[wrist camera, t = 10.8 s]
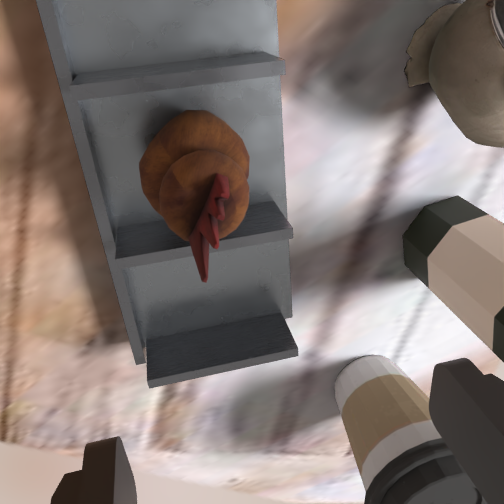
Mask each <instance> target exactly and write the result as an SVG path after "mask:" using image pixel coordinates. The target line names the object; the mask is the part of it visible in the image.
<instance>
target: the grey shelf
mask: <svg viewBox="0 0 504 504" xmlns="http://www.w3.org/2000/svg"><path fill="white" fill-rule="evenodd" d="M36 3H37V6H38V10H39V14H40V17H41V21H42V24H43V28H44V32H45V35H46V39H47V43H48V46H49V50H50V54H51V57H52V61H53V64H54V68H55V72H56V75H57V79H58V83H59V86H60V90H61V94H62V97H63V101H64V104H65V108H66V112H67V115H68V119H69V123H70V126H71V130H72V134H73V137H74V141H75V144H76V148H77V152H78V155H79V159H80V163H81V166H82V170H83V174H84V177H85V181H86V184H87V188H88V192H89V195H90V199H91V203H92V206H93V210H94V214H95V217H96V221H97V224H98V228H99V232H100V235H101V239H102V243H103V246H104V250H105V254H106V257H107V261H108V264H109V268H110V272H111V275H112V279H113V283H114V286H115V290H116V294H117V297H118V301H119V304H120V308H121V312H122V315H123V319H124V323H125V326H126V330H127V334H128V337H129V341H130V344H131V348H132V352H133V355H134V359H135V363H136V365H139V364H143V363H146V356H147V382H148V386H149V388H154V387H158V386H163V385H167V384H172V383H177V382H181V381H186V380H190V379H195V378H199V377H204V376H209V375H213V374H218V373H222V372H227V371H231V370H236V369H241V368H245V367H250V366H254V365H259V364H263V363H268V362H273V361H277V360H282V359H286V358H291V357H296V356H298V347H297V345H296V343H295V341H294V339H293V336H292V334H291V332H290V330H289V328H288V326H287V323H286V321H285V319H286V318H291V317H292V299H291V280H290V260H289V240H288V239H292V238H293V228H292V226H291V225H290V224H289V222H288V221H287V201H286V182H285V162H284V143H283V123H282V103H281V84H280V75H286V73H285V60H284V59H282V58H279V45H278V25H277V5H276V0H36ZM185 110H207V111H209V112H210V113H212V114H214V115H215V116H217V117H219V118H220V119H222V120H223V121H225V122H226V123H227V124H228V125H229V126H230V127H231V128H232V129H233V130H234V131H235V132H236V133H237V134H238V135H239V136H240V137H241V138H242V140H243V142H244V144H245V147H246V149H247V151H248V154H249V156H250V162H249V176H248V179H247V182H248V185H249V205H248V208H247V211H246V214H245V217H244V219H243V220H242V222H241V223H240V224H239V226H238V227H237V229H236V230H234V231H233V232H231V233H230V234H229V235H227V236H226V237H224V238H221V239H219V247H218V249H214V248H213V247H212V246H211V245H210V243H209V267H208V280H207V282H206V283H205V282H202V281H201V278H200V274H199V271H198V268H197V265H196V262H195V259H194V256H193V253H192V249H191V246H190V242H189V241H185V240H183V239H182V238H181V237H179V236H178V235H177V234H176V233H174V232H173V231H172V230H171V229H170V228H169V227H168V225H167V223H166V222H165V220H164V218H163V217H162V216H161V215H160V214H159V213H158V212H156V211H155V210H154V208H153V207H152V206H151V204H150V202H149V201H148V199H147V198H146V196H145V195H144V193H143V190H142V186H141V179H140V172H139V162H140V160H141V158H142V156H143V154H144V152H145V151H146V149H147V147H148V145H149V143H150V142H151V141H152V139H153V138H154V137H155V136H156V134H157V133H158V132H159V131H160V130H161V129H162V128H163V127H164V126H165V125H166V124H167V123H168V122H169V121H170V120H171V119H172V118H174V117H175V116H177V115H179V114H180V113H182V112H184V111H185ZM145 347H146V348H145Z"/></svg>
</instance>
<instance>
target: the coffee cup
mask: <svg viewBox="0 0 504 504" xmlns="http://www.w3.org/2000/svg"><path fill="white" fill-rule="evenodd" d="M334 391H335V399H336V402H337V405H338V408H339V411H340V414H341V417H342V420H343V423H344V426H345V429H346V432H347V435H348V439H349V442H350V445H351V448H352V451H353V454H354V457H355V460H356V463H357V466H358V469H359V472H360V475H361V478H362V481H363V484H364V488H365V491H366V496H365V502H364V504H488V503H487V502H486V501H485V499H484V498H483V496H482V495H481V493H480V492H479V491H478V489H477V488H476V486H475V485H474V483H473V482H472V480H471V479H470V478H469V476H468V475H467V473H466V472H465V470H464V469H463V467H462V466H461V465H460V463H459V462H458V460H457V459H456V457H455V456H454V454H453V453H452V452H451V450H450V449H449V447H448V446H447V444H446V443H445V441H444V440H443V439H442V437H441V436H440V434H439V433H438V431H437V430H436V428H435V426H434V425H433V422H432V420H431V417H430V413H429V398H428V397H427V396H426V395H425V394H424V393H423V392H422V390H421V389H420V388H419V387H418V386H417V385H416V384H415V383H414V382H413V381H412V380H411V379H410V378H409V377H408V376H407V375H406V374H405V373H404V372H403V371H402V370H401V369H400V368H399V367H398V366H397V365H396V363H393V362H391V361H390V360H389V359H388V358H386V357H383V356H378V355H370V356H365V357H361V358H359V359H357V360H354V361H353V362H351V363H350V364H349V365H347V366H346V367H345V368H344V369H343V370H342V371H341V372H340V373H339V375H338V377H337V379H336V381H335V388H334Z"/></svg>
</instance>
